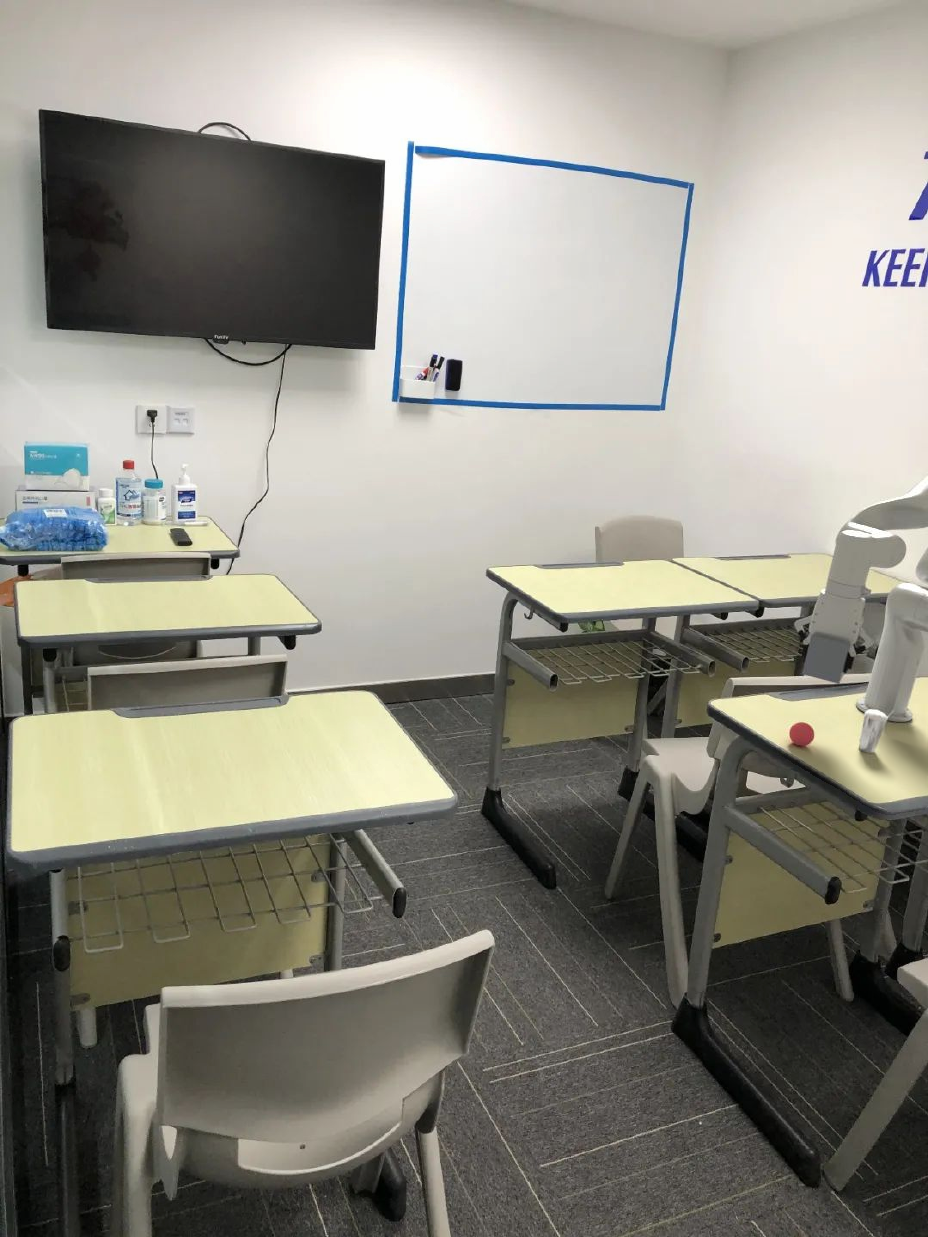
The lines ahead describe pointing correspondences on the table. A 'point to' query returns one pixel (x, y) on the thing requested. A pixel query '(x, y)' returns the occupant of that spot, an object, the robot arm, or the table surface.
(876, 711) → the milkshake
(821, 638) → the grey cube
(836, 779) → the table surface
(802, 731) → the ball
